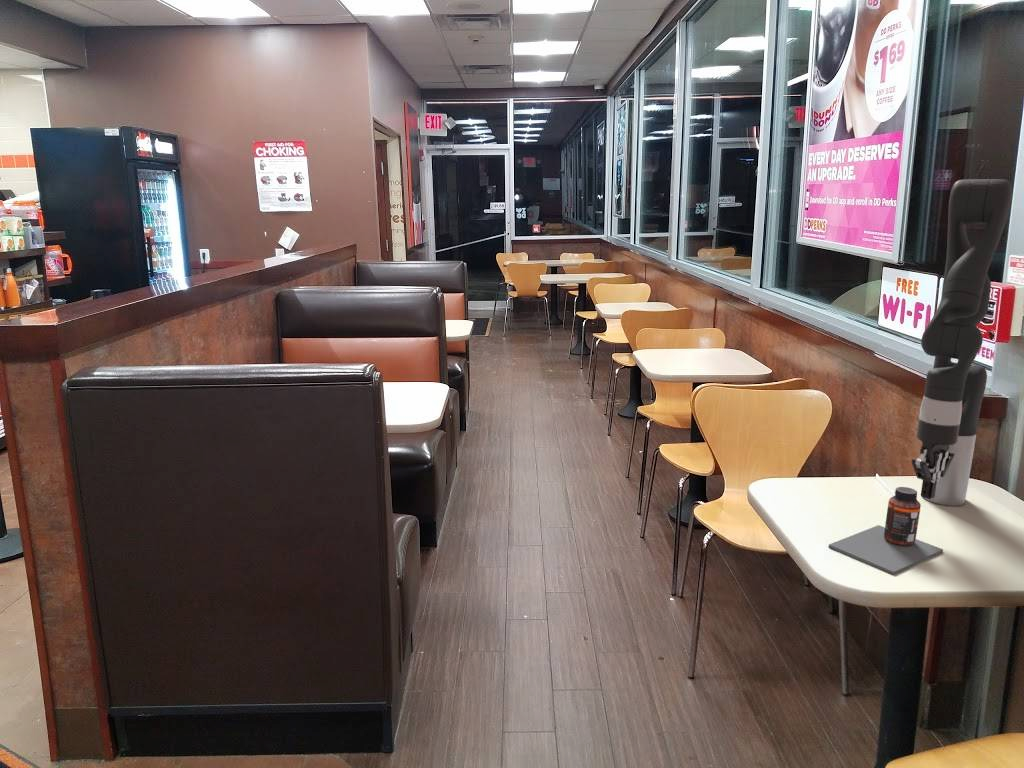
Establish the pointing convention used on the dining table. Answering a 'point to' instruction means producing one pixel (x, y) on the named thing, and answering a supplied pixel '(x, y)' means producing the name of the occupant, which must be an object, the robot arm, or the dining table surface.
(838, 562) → the dining table surface
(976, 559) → the dining table surface
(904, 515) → the supplement bottle
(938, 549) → the mat
